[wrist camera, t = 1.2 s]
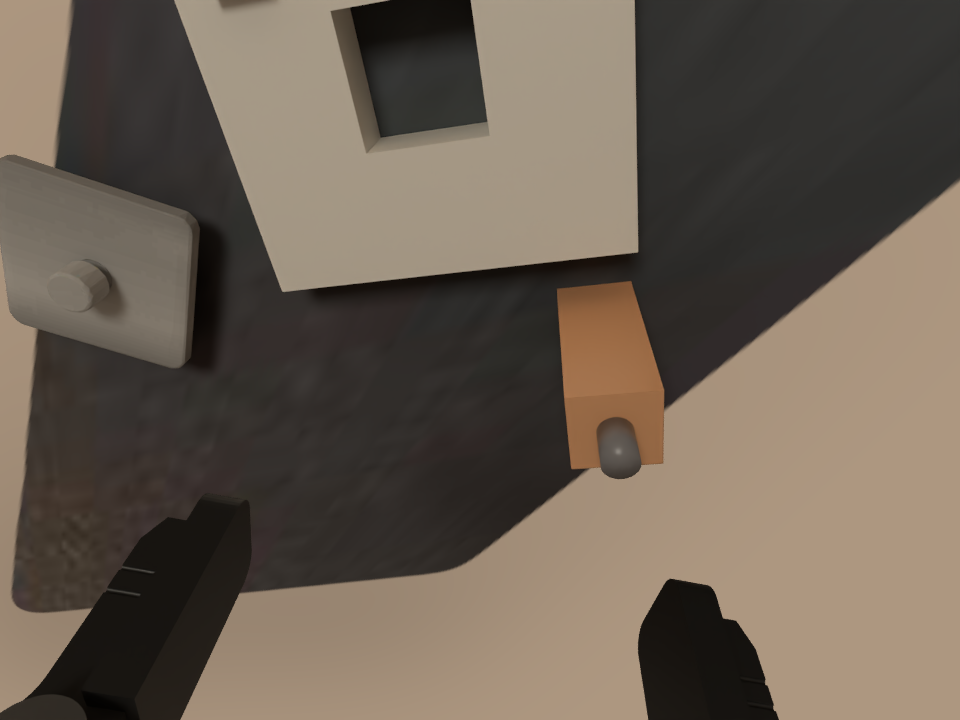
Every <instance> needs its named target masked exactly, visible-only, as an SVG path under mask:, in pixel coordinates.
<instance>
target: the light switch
mask: <svg viewBox="0 0 960 720" xmlns="http://www.w3.org/2000/svg"><path fill="white" fill-rule="evenodd" d="M199 234H200V227H199V225H198V222H197V220H196V219H195V218H194V217H193V216H192V215H191V214H190V213H189V212H187V211H184V210H181V209H178V208H175V207H172V206H169V205H166V204H163V203H160V202H157V201H154V200H151V199H148V198H145V197H142V196H139V195H136V194H133V193H130V192H126V191H123V190H120V189H117V188H114V187H111V186H108V185H105V184H102V183H99V182H96V181H93V180H90V179H87V178H84V177H81V176H78V175H75V174H72V173H69V172H66V171H63V170H60V169H57V168H53V167H50V166H47V165H44V164H41V163H38V162H35V161H32V160H29V159H26V158H23V157H20V156H17V155H7V156H4V157H2V158H0V245H1V253H2V260H3V268H4V275H5V282H6V290H7V297H8V304H9V310H10V313H11V314H12V315H13V317H14V318H15V319H16V320H17V321H19V322H20V323H22V324H24V325H28V326H31V327H34V328H37V329H41V330H44V331H48V332H51V333H54V334H58V335H61V336H64V337H68V338H71V339H74V340H78V341H81V342H85V343H88V344H91V345H95V346H98V347H101V348H105V349H108V350H112V351H115V352H118V353H122V354H125V355H128V356H132V357H135V358H138V359H142V360H145V361H149V362H152V363H155V364H159V365H162V366H165V367H169V368H180V367H182V366H183V365H184V364H185V363H186V362H187V361H188V360H189V359H190V358H191V350H192V336H193V324H194V309H195V294H196V279H197V265H198V247H199Z"/></svg>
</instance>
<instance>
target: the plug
mask: <svg viewBox="0 0 960 720" xmlns="http://www.w3.org/2000/svg"><path fill="white" fill-rule="evenodd" d="M557 297H558V312H559V327H560V341H561V356H562V371H563V385H564V399H565V409H566V419H567V430H568V440H569V450H570V460H571V469H581V468H596V467H597V468H598V467H601V469H602V471H603V473H604V474H606V475H607V476H609V477H611V478H615V479H625V478H629V477H631V476H633V475H635V474H636V473H637V472H638V471H639V470H640V468H641V465H647V464H662V463H663V439H664V437H663V436H664V388H663V385H662V382H661V379H660V375H659V372H658V369H657V365H656V362H655V359H654V355H653V352H652V349H651V346H650V342H649V339H648V336H647V332H646V329H645V326H644V322H643V319H642V316H641V313H640V309H639V306H638V303H637V299H636V296H635V293H634V290H633V286H632V283H631V281H628V282H619V283H609V284H600V285H590V286H581V287H571V288H562V289H557Z"/></svg>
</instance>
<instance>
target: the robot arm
mask: <svg viewBox="0 0 960 720" xmlns="http://www.w3.org/2000/svg"><path fill="white" fill-rule="evenodd" d="M251 553H252V549H251V527H250V506H249V502H248V501H247V500H243V499H238V498H232V497H227V496H221V495H215V494H210V493H206V494H205V495H203V496H202V497H201V499H200V500H199V501H198V503H197V504H196V506H195V508H194V509H193V511H192V512H191V514H190V516H189V517H188V519H187V520H181V519H175V518H169V517H168V518H166V519H165V520H164V521H163V522H161V523H160V524H159V525H157V526H156V527H155V528H153V529H152V530H151V531H149V532H148V533H147V534H146V535H144V536H143V537H142V538H141V539H140V540H139V542H138V543H137V544H136V546H135V547H134V549H133V550H132V552H131V553H130V555H129V556H128V558H127V559H126V561H125V562H124V563H123V567H122V569H121V570H119V571H118V572H117V574H116V575H115V577H114V578H113V580H112V581H111V582H110V584H109V585H108V588H107V591H106V592H105V593H103V594H102V596H101V597H100V599H99V600H98V601H97V603H96V604H95V606H94V607H93V609H92V610H91V612H90V613H89V615H88V616H87V618H86V619H85V621H84V622H83V623H82V625H81V626H80V628H79V629H78V631H77V632H76V634H75V635H74V636H73V638H72V639H71V641H70V643H69V644H68V645H67V647H66V648H65V650H64V651H63V653H62V654H61V656H60V657H59V658H58V660H57V661H56V663H55V664H54V666H53V667H52V669H51V670H50V672H49V673H48V674H47V676H46V677H45V679H44V680H43V681H42V682H41V684H40V685H39V686H38V687H37V688H36V689H35V690H34V691H33V692H32V693H31V694H30V695H29V696H28V697H27V698H25V699H24V700H23V701H21V702H19V703H16V704H14V705H12V706H11V707H9V708H7V709H6V710H4V711H2V712H1V713H0V720H180V719H181V717H182V715H183V713H184V710H185V709H186V706H187V704H188V702H189V700H190V698H191V696H192V693H193V691H194V689H195V687H196V685H197V683H198V681H199V678H200V676H201V674H202V672H203V670H204V668H205V665H206V664H207V661H208V659H209V657H210V655H211V653H212V651H213V648H214V646H215V644H216V642H217V640H218V638H219V636H220V634H221V631H222V629H223V627H224V625H225V623H226V621H227V619H228V616H229V614H230V612H231V610H232V608H233V606H234V604H235V601H236V599H237V597H238V595H239V593H240V591H241V589H242V586H243V584H244V582H245V579H246V576H247V573H248V570H249V566H250V561H251ZM638 655H639V662H640V668H641V675H642V681H643V688H644V694H645V701H646V707H647V714H648V720H779V719H778V716H777V713H776V711H774V710H773V705H774V704H773V701H772V698H771V695H770V692H769V689H768V686H766V685H765V676H764V673H763V670H762V667H761V664H760V661H759V658H758V655H757V652H756V649H755V648H754V646H753V645H752V643H751V642H750V640H749V639H748V637H747V636H746V634H745V633H744V632H743V630H742V629H741V627H740V626H739V624H738V623H737V622H736V621H734V620H729V619H723V617H722V614H721V611H720V607H719V604H718V600H717V597H716V594H715V592H714V591H713V589H712V588H711V587H710V586H708V585H703V584H697V583H691V582H686V581H681V580H675V579H669V580H667V581H666V583H665V584H664V586H663V588H662V590H661V591H660V593H659V595H658V596H657V598H656V600H655V601H654V603H653V605H652V607H651V608H650V610H649V612H648V614H647V615H646V617H645V619H644V621H643V623H642V625H641V628H640V634H639V640H638Z"/></svg>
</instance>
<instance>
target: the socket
mask: <svg viewBox="0 0 960 720" xmlns="http://www.w3.org/2000/svg"><path fill="white" fill-rule="evenodd" d="M174 1H175V3H176V6H177V9H178V11H179V14H180V17H181V20H182V22H183V25H184V28H185V30H186V33H187V36H188V38H189V41H190V44H191V47H192V49H193V52H194V55H195V57H196V60H197V63H198V65H199V68H200V71H201V74H202V76H203V79H204V82H205V84H206V87H207V90H208V92H209V95H210V98H211V101H212V103H213V106H214V109H215V111H216V114H217V117H218V119H219V122H220V125H221V128H222V130H223V133H224V136H225V138H226V141H227V144H228V146H229V149H230V152H231V155H232V157H233V160H234V163H235V165H236V168H237V171H238V173H239V176H240V179H241V182H242V184H243V187H244V190H245V192H246V195H247V198H248V200H249V203H250V206H251V209H252V211H253V214H254V217H255V219H256V222H257V225H258V227H259V230H260V233H261V236H262V238H263V241H264V244H265V246H266V249H267V252H268V254H269V257H270V260H271V263H272V265H273V268H274V271H275V273H276V276H277V279H278V281H279V284H280V287H281V290H282V292H285V291H294V290H303V289H312V288H321V287H330V286H339V285H348V284H357V283H366V282H375V281H384V280H393V279H402V278H411V277H420V276H429V275H438V274H447V273H456V272H465V271H474V270H484V269H493V268H502V267H511V266H520V265H529V264H538V263H547V262H556V261H565V260H574V259H583V258H592V257H601V256H610V255H619V254H628V253H637V252H638V204H637V135H636V65H635V0H471V6H472V13H473V20H474V27H475V35H476V42H477V49H478V56H479V63H480V70H481V77H482V84H483V91H484V98H485V105H486V112H487V120H488V122H484V123H477V124H470V125H463V126H457V127H450V128H443V129H436V130H430V131H423V132H416V133H409V134H403V135H396V136H389V137H382V138H381V137H380V133H379V128H378V124H377V120H376V116H375V112H374V107H373V103H372V99H371V95H370V90H369V86H368V82H367V78H366V73H365V69H364V65H363V61H362V56H361V52H360V48H359V44H358V39H357V35H356V31H355V27H354V22H353V18H352V14H351V10H350V7H355V6H360V5H366V4H371V3H377V2H382V1H388V0H174Z"/></svg>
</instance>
